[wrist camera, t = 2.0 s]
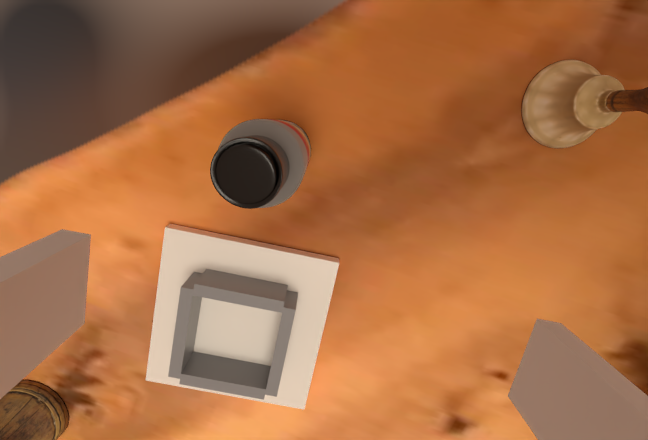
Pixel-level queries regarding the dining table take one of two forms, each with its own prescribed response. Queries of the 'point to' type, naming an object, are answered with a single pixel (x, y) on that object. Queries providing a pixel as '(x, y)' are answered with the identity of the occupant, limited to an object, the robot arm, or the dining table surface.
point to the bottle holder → (238, 316)
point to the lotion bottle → (260, 163)
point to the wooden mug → (32, 413)
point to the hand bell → (575, 103)
